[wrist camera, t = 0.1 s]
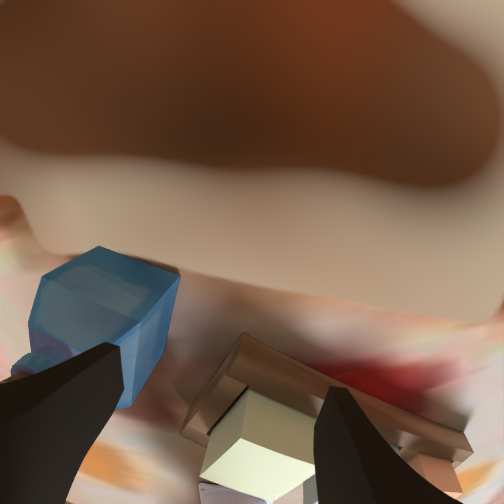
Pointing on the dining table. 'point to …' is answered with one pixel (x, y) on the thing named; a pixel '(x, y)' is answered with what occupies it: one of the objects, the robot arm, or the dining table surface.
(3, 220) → the dining table surface
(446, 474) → the peach square block
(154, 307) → the perfume bottle
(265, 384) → the wooden tray
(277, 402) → the sage key
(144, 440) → the dining table surface
